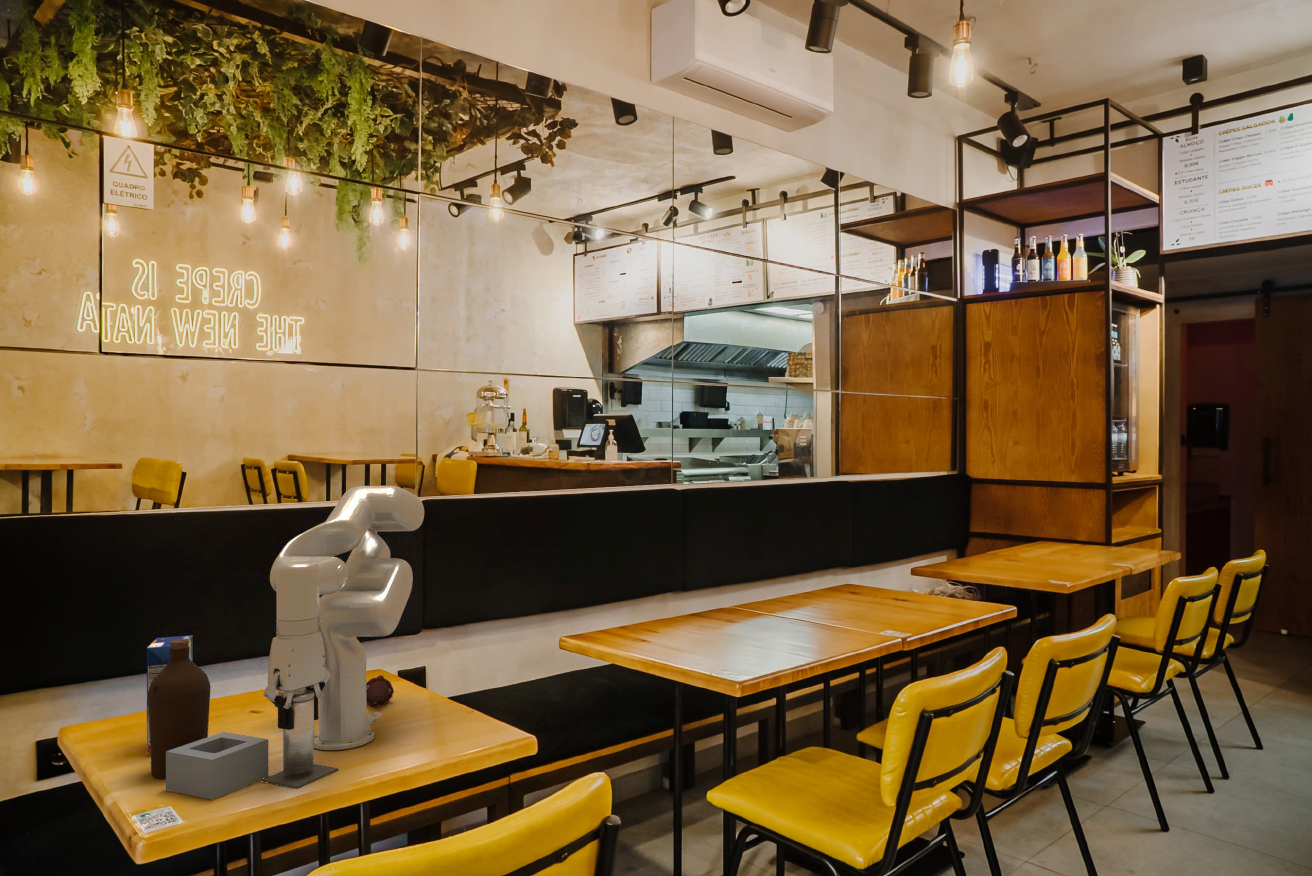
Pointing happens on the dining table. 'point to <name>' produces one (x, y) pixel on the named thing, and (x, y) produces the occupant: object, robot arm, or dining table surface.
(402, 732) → the dining table surface
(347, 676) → the robot arm
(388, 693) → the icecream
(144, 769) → the dining table surface
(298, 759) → the silver metallic cylinder
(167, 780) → the housing
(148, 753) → the beverage box
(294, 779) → the mat
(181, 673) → the olive oil
